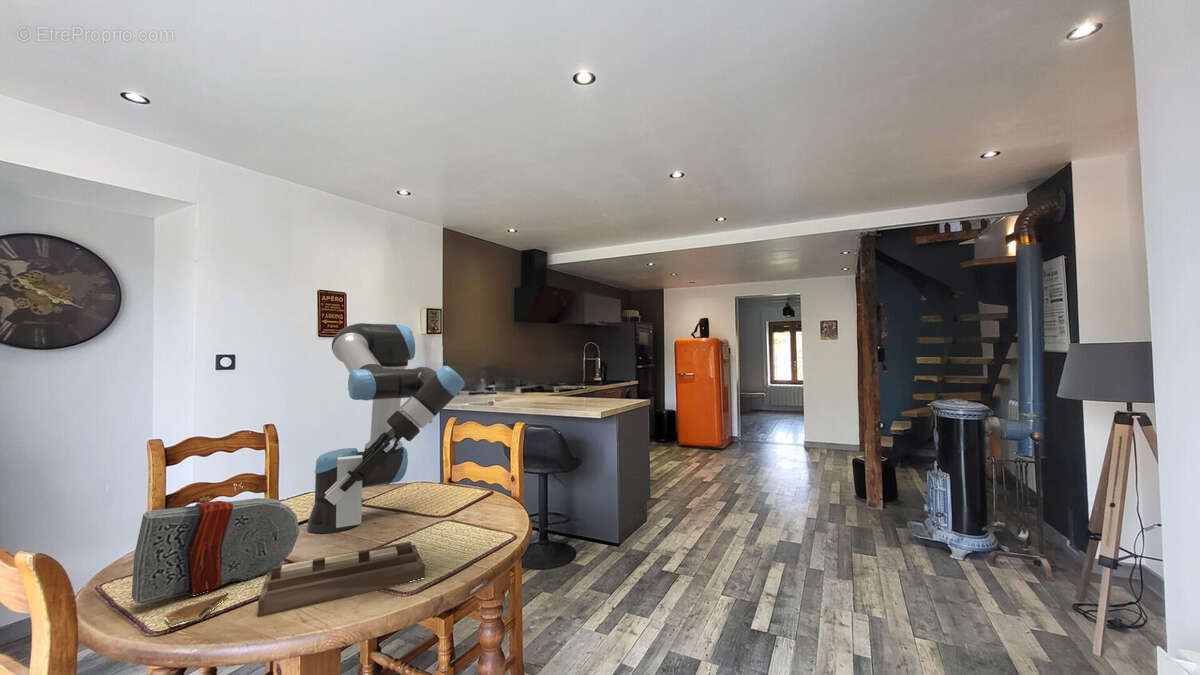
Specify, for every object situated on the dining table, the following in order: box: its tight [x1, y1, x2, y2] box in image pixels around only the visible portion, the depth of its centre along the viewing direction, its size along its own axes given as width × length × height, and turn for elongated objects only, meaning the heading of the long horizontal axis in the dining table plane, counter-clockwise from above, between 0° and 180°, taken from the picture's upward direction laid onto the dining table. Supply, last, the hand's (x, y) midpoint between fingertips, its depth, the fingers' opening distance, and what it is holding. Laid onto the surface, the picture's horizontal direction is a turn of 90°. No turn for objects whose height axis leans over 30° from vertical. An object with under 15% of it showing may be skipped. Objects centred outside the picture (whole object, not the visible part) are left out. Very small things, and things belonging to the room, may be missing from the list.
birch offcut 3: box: [369, 547, 397, 561], centre depth 116 cm, size 4×6×4 cm, turn 120°
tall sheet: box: [336, 455, 363, 528], centre depth 107 cm, size 3×5×15 cm, turn 120°
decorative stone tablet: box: [130, 497, 300, 605], centre depth 110 cm, size 19×6×30 cm
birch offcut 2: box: [325, 551, 359, 570], centre depth 112 cm, size 4×7×5 cm, turn 120°
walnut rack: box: [257, 541, 426, 617], centre depth 110 cm, size 16×32×4 cm, turn 120°
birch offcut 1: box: [280, 559, 313, 578], centre depth 107 cm, size 4×6×5 cm, turn 119°
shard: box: [163, 592, 230, 626], centre depth 97 cm, size 11×8×2 cm
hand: (329, 498), depth 105 cm, fingers closed on tall sheet, 3 cm apart
